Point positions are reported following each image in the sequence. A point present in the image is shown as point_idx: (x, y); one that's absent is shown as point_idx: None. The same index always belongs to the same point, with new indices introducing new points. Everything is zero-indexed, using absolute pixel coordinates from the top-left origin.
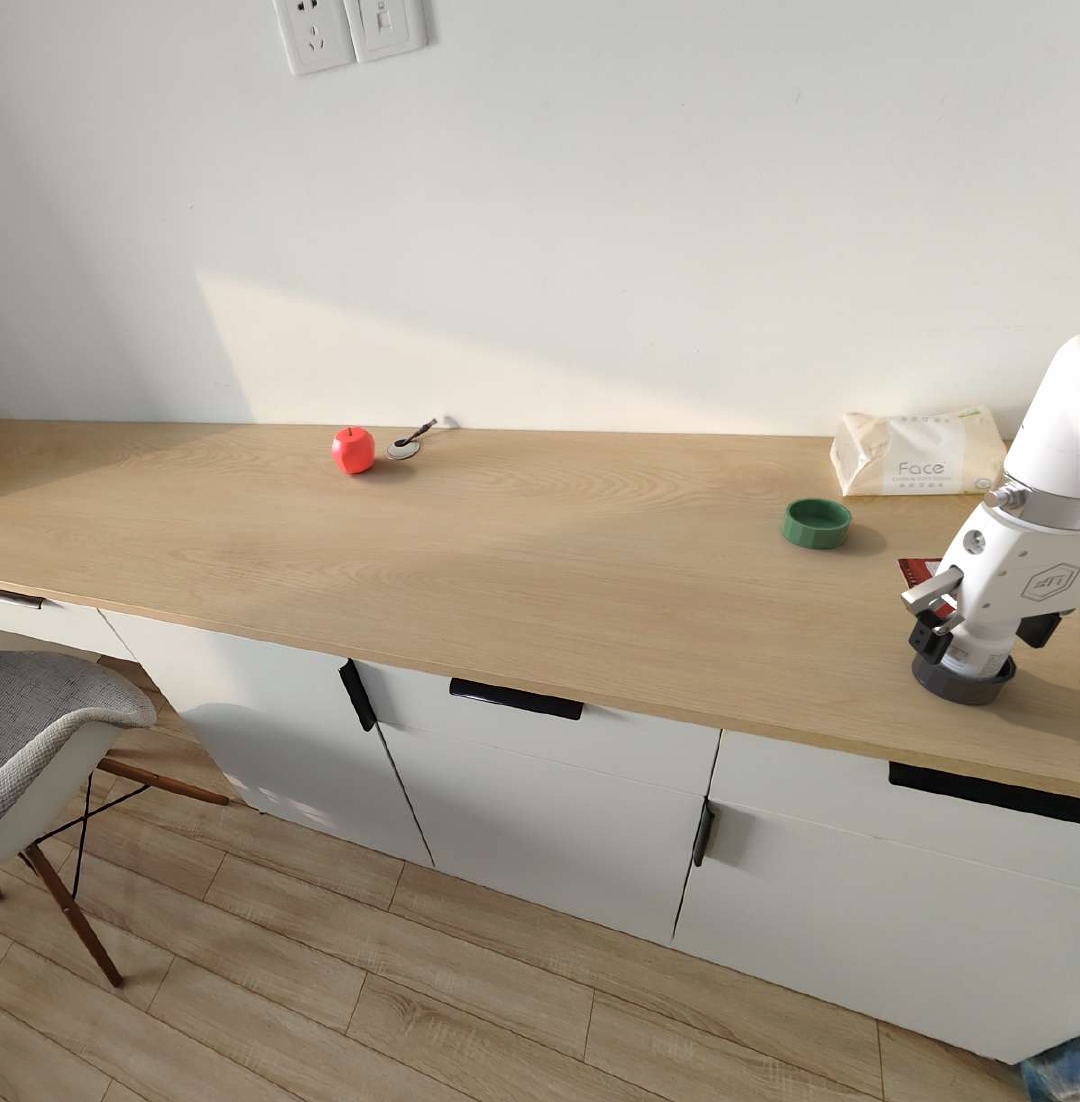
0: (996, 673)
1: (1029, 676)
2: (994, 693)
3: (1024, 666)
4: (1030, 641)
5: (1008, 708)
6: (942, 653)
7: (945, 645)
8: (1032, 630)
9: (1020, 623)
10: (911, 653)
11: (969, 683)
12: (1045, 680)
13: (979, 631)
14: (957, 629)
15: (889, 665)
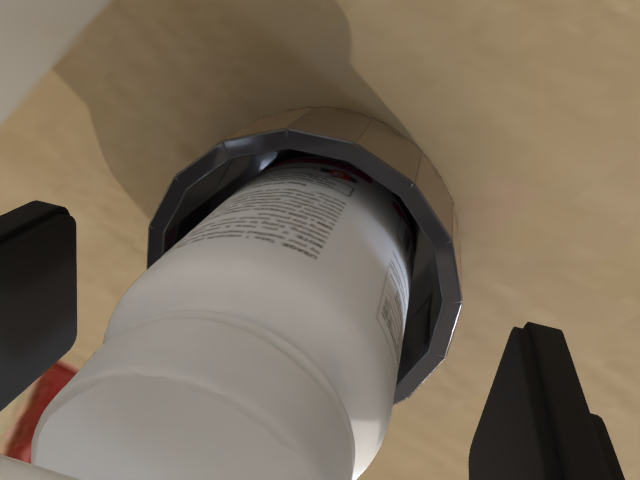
0: (267, 183)
1: (117, 151)
2: (323, 118)
3: (100, 188)
4: (61, 245)
5: (287, 66)
6: (554, 376)
7: (582, 430)
8: (21, 288)
9: (32, 338)
10: None
11: (415, 184)
12: (88, 118)
13: (331, 426)
14: (357, 461)
15: (467, 365)
